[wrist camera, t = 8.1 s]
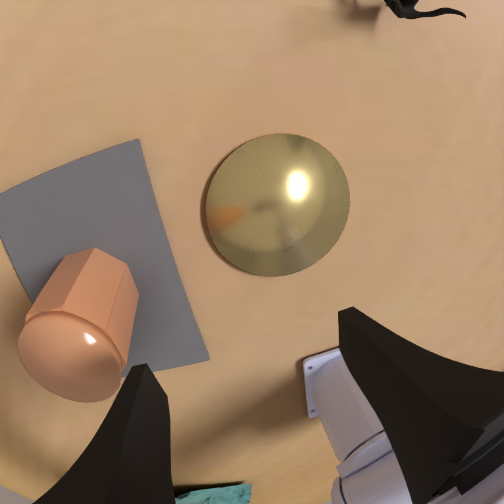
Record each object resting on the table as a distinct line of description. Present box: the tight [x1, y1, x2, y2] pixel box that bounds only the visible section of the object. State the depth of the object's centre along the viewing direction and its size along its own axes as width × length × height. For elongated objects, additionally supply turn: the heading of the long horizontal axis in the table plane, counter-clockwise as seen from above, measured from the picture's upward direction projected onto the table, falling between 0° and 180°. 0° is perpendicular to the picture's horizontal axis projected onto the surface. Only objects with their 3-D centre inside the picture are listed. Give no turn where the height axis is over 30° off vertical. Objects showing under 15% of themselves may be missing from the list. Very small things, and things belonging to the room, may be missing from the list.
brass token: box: [205, 134, 350, 276], centre depth 19 cm, size 9×9×1 cm
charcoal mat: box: [0, 139, 210, 377], centre depth 18 cm, size 16×11×1 cm
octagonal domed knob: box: [17, 247, 139, 403], centre depth 15 cm, size 5×5×7 cm
